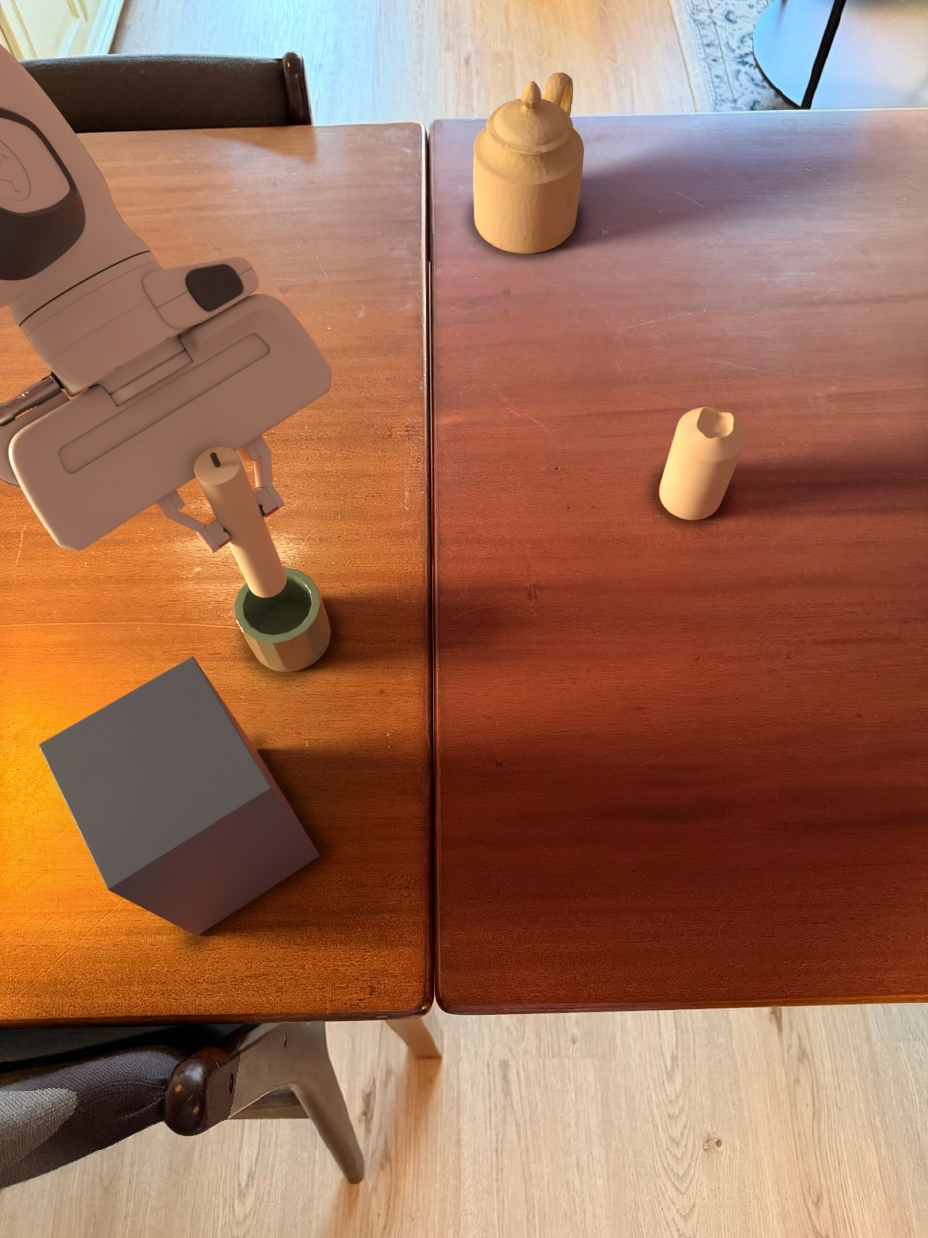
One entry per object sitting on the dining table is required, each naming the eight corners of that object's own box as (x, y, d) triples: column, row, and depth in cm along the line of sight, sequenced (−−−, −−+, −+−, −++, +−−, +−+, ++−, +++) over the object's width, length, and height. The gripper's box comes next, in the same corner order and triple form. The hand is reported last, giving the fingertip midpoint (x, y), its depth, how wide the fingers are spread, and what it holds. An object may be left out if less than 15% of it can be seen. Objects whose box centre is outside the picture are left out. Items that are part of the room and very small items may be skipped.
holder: (274, 687, 72) (259, 658, 67) (236, 626, 75) (219, 594, 70) (345, 644, 74) (335, 613, 69) (305, 586, 76) (293, 553, 72)
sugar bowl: (468, 164, 101) (466, 24, 88) (566, 159, 101) (579, 18, 88) (476, 258, 94) (476, 121, 81) (582, 252, 94) (599, 114, 81)
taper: (267, 604, 65) (211, 482, 52) (240, 583, 66) (179, 456, 53) (294, 579, 66) (246, 452, 53) (268, 557, 67) (214, 428, 54)
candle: (647, 482, 81) (667, 407, 72) (701, 461, 82) (727, 385, 73) (678, 529, 78) (702, 458, 69) (733, 508, 79) (764, 435, 70)
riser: (196, 936, 64) (107, 890, 48) (137, 820, 67) (37, 744, 52) (319, 855, 66) (271, 788, 51) (255, 748, 70) (193, 655, 55)
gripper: (-45, 424, 48) (115, 629, 53) (268, 245, 54) (386, 445, 59) (-40, 428, 54) (105, 614, 59) (244, 265, 60) (353, 447, 65)
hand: (248, 528), depth 59 cm, fingers closed on taper, 3 cm apart
